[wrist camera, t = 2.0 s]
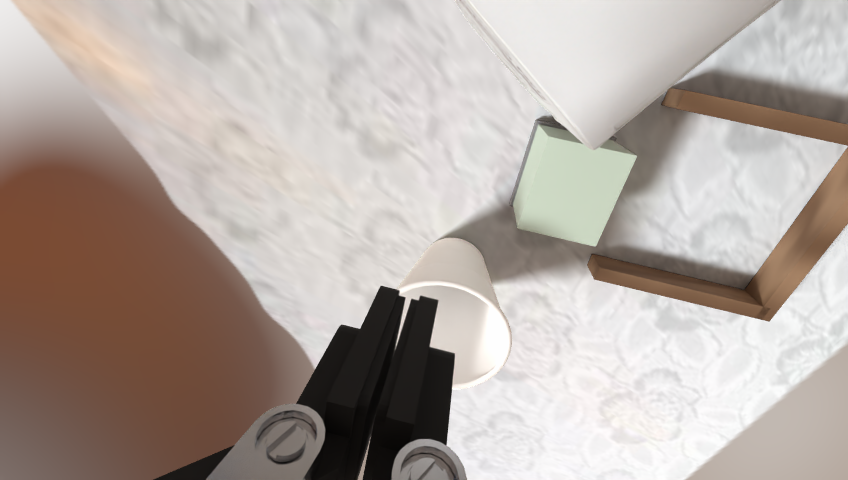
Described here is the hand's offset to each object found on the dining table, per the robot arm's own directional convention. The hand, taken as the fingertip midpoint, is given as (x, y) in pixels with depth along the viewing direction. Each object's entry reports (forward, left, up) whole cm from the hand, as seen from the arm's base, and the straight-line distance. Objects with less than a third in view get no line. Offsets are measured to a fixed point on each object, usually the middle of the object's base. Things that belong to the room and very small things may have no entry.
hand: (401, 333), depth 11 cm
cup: (+11, +2, -23) cm, 26 cm away
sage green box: (0, +9, -23) cm, 25 cm away
